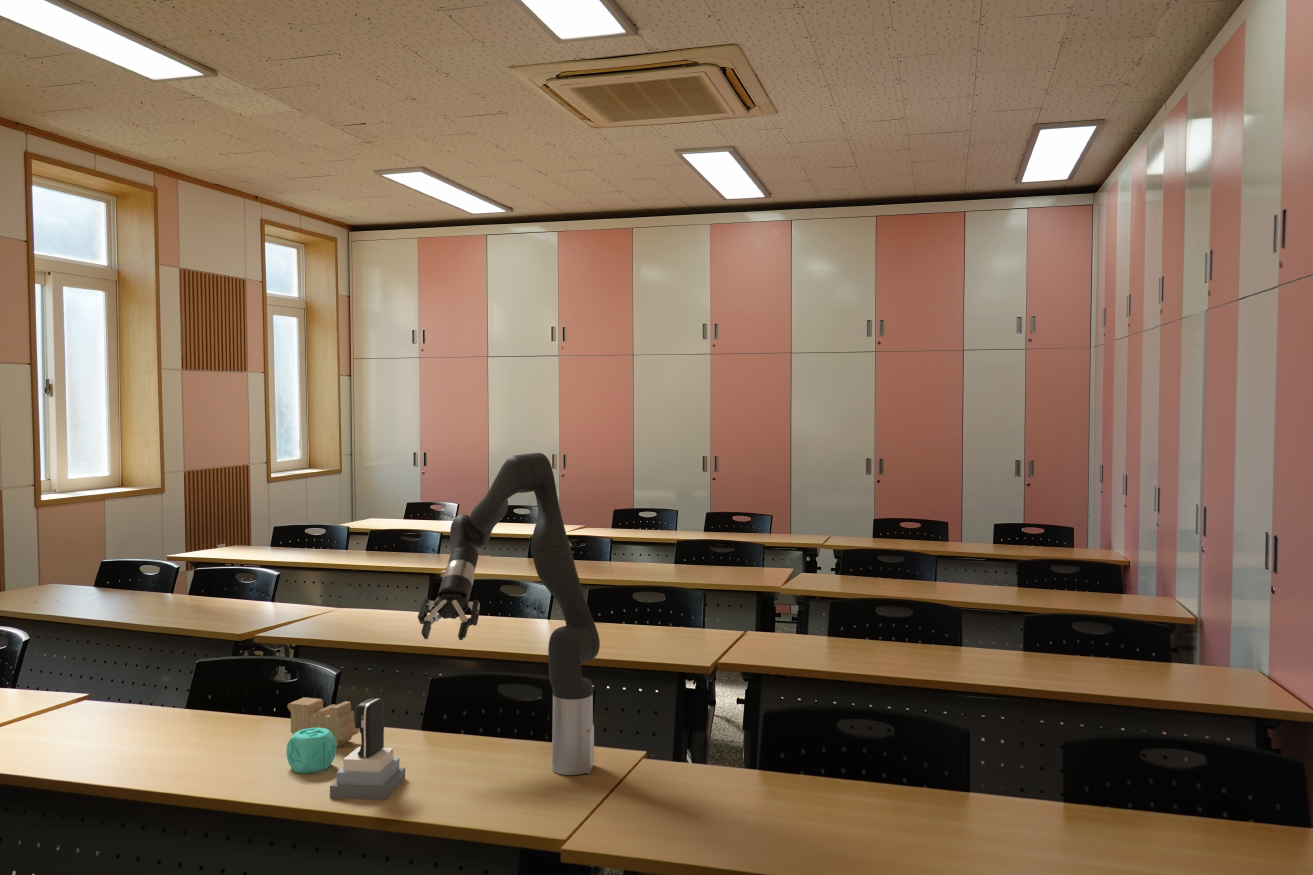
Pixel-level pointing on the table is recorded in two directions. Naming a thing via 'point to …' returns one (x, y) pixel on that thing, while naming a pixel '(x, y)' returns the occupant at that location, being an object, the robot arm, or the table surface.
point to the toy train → (323, 718)
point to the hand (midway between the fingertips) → (442, 637)
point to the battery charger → (370, 726)
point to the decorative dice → (311, 750)
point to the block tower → (368, 776)
